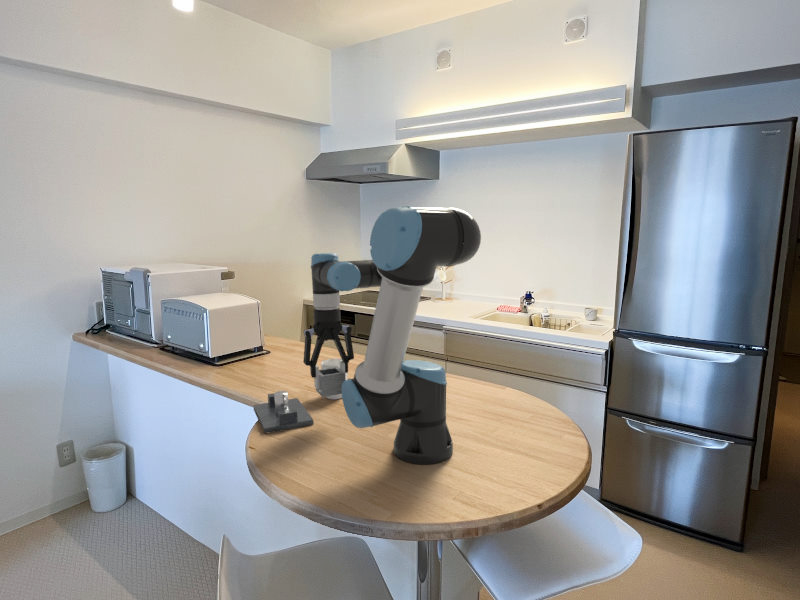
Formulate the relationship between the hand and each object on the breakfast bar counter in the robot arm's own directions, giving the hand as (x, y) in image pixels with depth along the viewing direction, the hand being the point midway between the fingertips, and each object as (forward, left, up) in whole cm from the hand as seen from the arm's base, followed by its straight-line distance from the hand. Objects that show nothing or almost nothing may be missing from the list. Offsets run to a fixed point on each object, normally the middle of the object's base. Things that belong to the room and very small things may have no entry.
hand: (330, 385), depth 140 cm
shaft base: (+12, +12, -11) cm, 20 cm away
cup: (+22, -8, -12) cm, 26 cm away
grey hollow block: (0, 0, -2) cm, 2 cm away
